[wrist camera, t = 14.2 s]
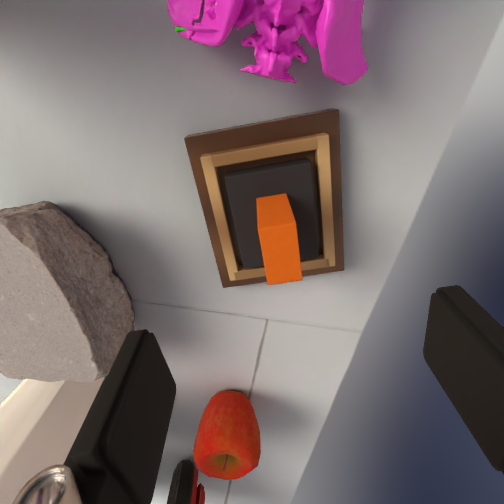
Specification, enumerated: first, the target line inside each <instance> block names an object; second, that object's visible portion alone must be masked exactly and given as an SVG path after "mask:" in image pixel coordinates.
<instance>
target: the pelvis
mask: <svg viewBox="0 0 504 504" xmlns="http://www.w3.org/2000/svg"><path fill="white" fill-rule="evenodd" d="M202 4H203V2H202V0H167V8H168V13H169V15H170V18H171V20H172V22H173V25H174V28H175V31H176V32H178V34H179V35H182V36H183V37H185V38H186V39H188V40H191V39H192V41H193V42H196V43H201V44H203V45H208V46H214V47H218V46H220V45H222V44H223V43H224V41H225V40H226V38H227V37H228V35H229V33H230V32H231V30H232V28H233V26H235V27H236V28H237V29H241V28H242V27H244V26H245V25H247V24H249V23H251V22H254V24H255V26H256V29H257V32H255V33H252V34H250V36H249V37H248V38H244V39H243V40H242V45H243V46H244V47H247V46H252V47H255V51H254V56H255V59H256V65H248V66H247V67H244V68H242V69H241V71H244V72H249V73H253V74H256V75H259V76H263V77H267V78H271V79H275V80H280V81H289V82H294V83H297V82H296V81H295V80H294V78H293V77H292V76H291V75H290V74H288V73H287V71H288V69H289V68H290V66H291V62H292V58H293V57H295V58H297V59H299V60H300V61H301V62H303V63H305V62H306V61H307V60H308V57H307V55H306V54H304V52H303V48H302V46H301V45H300V44H299V43H298V41H297V39H298V38H299V36H300V35H301V34H302V35H303V36H304V37H305V38H306V39H307V41H308V42H309V44H310V46H311V47H312V48H313V47H315V46H317V45H318V48H319V54H320V58H321V63H322V71H323V73H324V75H325V76H326V77H328V78H331V79H332V80H334V81H336V82H338V83H341V84H343V85H347V84H352V83H354V82H356V81H357V80H358V79H359V78H360V77H362V76H363V75H364V74H365V73H366V71H367V69H368V66H367V62H366V60H365V57H364V54H363V49H362V41H361V20H362V11H363V5H364V0H205V4H204V13H203V18H202V20H201V23H198V22H196V23H195V24H194V25H193V22H194V20H198V19H199V18H200V13H201V7H202Z"/></svg>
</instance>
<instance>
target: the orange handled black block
mask: <svg viewBox="0 0 504 504" xmlns="http://www.w3.org/2000/svg"><path fill="white" fill-rule="evenodd" d="M225 183H226V187H227V192H228V197H229V201H230V206H231V211H232V216H233V220H234V225H235V230H236V234H237V239H238V244H239V248H240V253H241V258H242V262H243V267H244V269H246V268H253V267H259V266H264V267H265V272H266V278H267V284H268V285H272V284H279V283H286V282H293V281H300V280H302V271H301V262H300V260H307V259H313V258H318V257H319V254H318V241H317V228H316V215H315V202H314V189H313V176H312V163H311V162H310V161H309V159H308V158H303V159H297V160H292V161H286V162H280V163H274V164H268V165H263V166H257V167H251V168H245V169H240V170H234V171H228V172H226V175H225Z"/></svg>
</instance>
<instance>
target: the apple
mask: <svg viewBox="0 0 504 504" xmlns="http://www.w3.org/2000/svg"><path fill="white" fill-rule="evenodd" d="M259 458H260V431H259V426H258V422H257V419H256V416H255V412H254V409H253V407H252V404H251V402H250V400H249V399H248V397H247V396H246V395H245V394H243V393H241V392H237V391H220V392H218V393H217V394H216V395H214V396H213V397H212V398H211V400H210V401H209V403H208V405H207V406H206V408H205V410H204V413H203V415H202V418H201V421H200V424H199V428H198V432H197V436H196V439H195V444H194V462H195V464H196V465H197V467H198V469H199V470H200V471H202V472H203V473H204V474H206V475H207V476H209V477H215V478H220V479H226V480H230V479H238V478H240V477H243V476H244V475H246V474H247V473H249V472H250V471H252V470H253V469H254V468H256V467H257V466H258V462H259Z"/></svg>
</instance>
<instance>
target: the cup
mask: <svg viewBox="0 0 504 504" xmlns="http://www.w3.org/2000/svg"><path fill="white" fill-rule="evenodd" d="M107 375H108V374H107ZM107 375H106V376H107ZM106 376H104V377H102V378H100V379H97V380H95V381H93V382H90V383H83V382H75V381H70V380H62V381H55V382H45V381H39V380H33V379H24V380H23V382H22V383H21V384H20V385H19V386H18V387H17V388H16V389H15V390H14V391H13V392H12V393H11V394H10V395H9V396H8V397H7V398H6V400H5V401H4V402H3V403H2V404H1V405H0V504H12V503H13V501H14V499H15V498H16V496H17V494H18V493H19V491H20V490H21V489H22V488H23V486H24V485H25V484H26V483H27V482H28V481H29V480H30V479H31V478H32V477H34V476H35V475H36V474H37V473H39V472H40V471H42V470H44V469H45V468H47V467H50V466H53V465H62V464H64V462H65V460H66V458H67V455H68V453H69V451H70V449H71V447H72V445H73V443H74V441H75V439H76V437H77V434H78V432H79V430H80V428H81V426H82V424H83V422H84V420H85V418H86V416H87V413H88V411H89V409H90V407H91V405H92V403H93V401H94V399H95V397H96V395H97V393H98V390H99V388H100V386H101V384H102V382H103V380H104V379H105V377H106Z"/></svg>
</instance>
